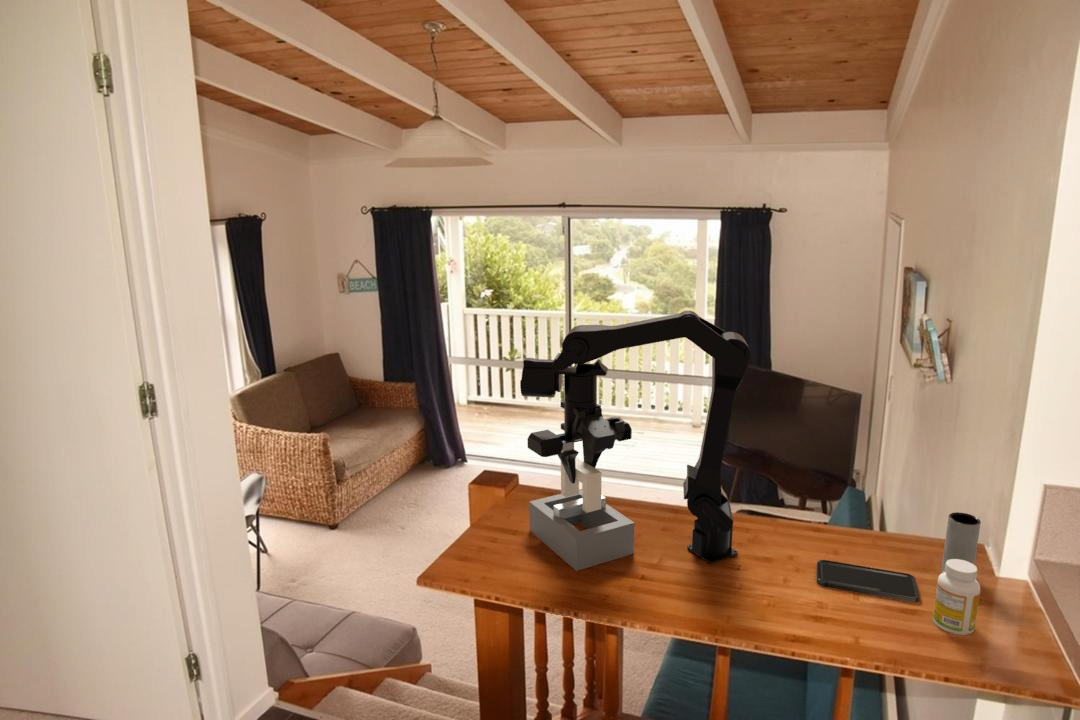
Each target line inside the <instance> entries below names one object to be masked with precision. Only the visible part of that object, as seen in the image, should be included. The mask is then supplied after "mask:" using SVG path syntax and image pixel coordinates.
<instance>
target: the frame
mask: <svg viewBox="0 0 1080 720" xmlns="http://www.w3.org/2000/svg"><path fill="white" fill-rule="evenodd" d="M578 499H582V488H579V494H576V495H572V496H568V497H564V496H563V495H561V493H560V494H559V493H558V494H554V495H550V496H547V497H542V498H539V499H533V500H530V501H529V504H528V506H529V531H530V532H531V533H532V534H533V535H534V536H535V537H537V538H538V539H539V540H540V541H541V542H542V543H543V544H545V545H546V546H547V547H548V548H550V550H552V552H554V553H555V554H556V555H557V556H559V557H560V558H561V559H562V560H563V561H564V562H565V563H566V564H568V565H569V566H570V567H571V568H572V569H573V570H575V572H579V571H580V570H584V569H588V568H590V567H594V566H598V565H601V564H604V563H607V562H610V561H614V560H616V559H618V560H619V559H620V558H625V557H627V556H630V555H633V554H634V552H635V551H634V550H635V522H634V521H633V520H631V519H630V518H628V516H627V517H626V516H625V515H624V514H622V513H621V512H619V511H618V510H616V509H614V507H612V506H610V505H609V504H608V503H606V508H603V509H600V510H596V511H592V512H588V513H584V514H580V515H577V516H573V517H569V518H565V519H561V520H558V519H557V518H556V517H555V516H554V505H558V504H562V503H566V502H570V501H574V500H578ZM576 524H580V525H582V526H584V527H585V528H586V529H584V530H579V529H578V528H577V527H576V526H574V525H576Z"/></svg>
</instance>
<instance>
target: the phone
mask: <svg viewBox="0 0 1080 720" xmlns="http://www.w3.org/2000/svg"><path fill="white" fill-rule="evenodd" d="M816 583H817V585H818V586H821V587H824V588H828V589H829V588H830V589H834V590H840V591H846V592H852V593H856V594H857V593H858V594H864V595H868V596H873V597H878V596H879V597H880V598H884V597H886V598H885V599H890V598H892V599H891V600H895V599H898V600H897V601H901V600H902V601H901V602H907V601H908V603H913V602H916V603H918V602H919V601H920V596H921V595H920V591H919V588H918V583H917V579H916V577H915V576H914V575H913V574H910V573H907V572H906V573H905V572H900V571H894V570H888V569H881V568H875V567H870V566H863V565H858V564H853V563H852V564H851V563H846V562H839V561H833V560H828V559H818V560H817V562H816ZM879 597H878V598H879Z"/></svg>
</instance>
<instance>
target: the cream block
mask: <svg viewBox="0 0 1080 720" xmlns="http://www.w3.org/2000/svg"><path fill="white" fill-rule="evenodd" d="M575 466H576V478H575V483H574V484H573V483H571V482H570V480H569V478H568V475H567V473H566V471H565V469H564V466H563V464H562V462H561V461H560V494H561V495H563V496H564V497H568V496H572V495H576V494H579V489H580V483H581V485H582V487H581V489H582V510H584V511H585V512H586V513H588V512H592V511H596V510H600V509H601V495H602V474H603V473H602V471H600V470H599V469H597V468H596V467H595V468H594V467H592V466H590V465H589V464H587V463H585V462H584V460H582V459H580V458H579V457H577V456H576V458H575Z"/></svg>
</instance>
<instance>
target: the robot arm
mask: <svg viewBox="0 0 1080 720" xmlns="http://www.w3.org/2000/svg"><path fill="white" fill-rule="evenodd" d="M682 338H683V339H684V338H685V339H687V340H689V341H691V342H692V343H693V345H696V346H697V347H698V348H699V349H701V350H702V351H703V352H705V353H706V354H707V355H709V356H710V357H712V358H711V359H712V361H711V362H712V365H711V366H712V388H711V393H710V398H709V399H710V400H709V403H708V404H709V405H708V409H707V414H706V420H705V425H704V430H703V436H702V441H701V442H702V443H701V446H700V453H699V457H698V459H697V462H696V463H695V466H693V465H691V464H686V478H685V480H684V481H683V484H682V485H683V488H682V489H683V500H686V505H687V509H688V511H689V512H690V513H691V514H692V516H695V517H696V519H694V522H693V523H694V524H693V525H694V526H693V529H692V535H691V536H692V539H691V543H690V544H688V545H686V546H687V547H686V548H687V550H689V551H691V552H693V554H695V555H697V556H698V557H700V558H702V559H703V560H704V561H706V562H708V563H709V564H714V563H717V562H720V561H724V560H726V559H729V558H731V557H736V556H738V554H739V552H738V551H739V550H736V549H734V548H733V547H732V546H733V531H734V519H733V518H734V517H733V512H732V508H731V507H732V506H731V502H730V500H729V499H728V498H727V497H726V495H724V493H722V471H721V470H722V469H721V468H722V464H723V460H724V455H725V454H724V453H725V450H726V444H727V440H728V433H729V428H730V424H731V423H730V422H731V419H732V412H733V408H734V402H735V397H736V394H737V391H738V389H739V387H740V386H741V383H742V381H743V380H744V377H745V375H746V373H747V370H748V368H749V366H750V363H751V360H752V359H751V358H752V354H751V350H750V348H749V344H748V343H747V341H746V340H745V338H744V337H743V336H742V335H741V334H739V333H737V332H734V331H725V330H723V329H721V328H720V327H718V326H717V325H715V324H713V323H712V322H709V321H708V320H706V319H704V318H703V317H701V316H699V314H697V313H696V312H695V311H693V310H683V311H682V312H679V313H673V314H670V315H669V314H667V315H664V316H658V317H654V318H649V319H643V320H638V321H634V322H628V323H622V324H618V325H607V324H606V325H605V324H604V325H603V324H581V325H576V326H574V327H572V328H571V329H570V330H569V331H568V333H567V334H566V336H565V337H564V339H563V340H562V344H561V349H562V351H560V352H558V353H557V354H556V355H555V357H554V359H541V358H540V359H539V358H534V357H526V358H525V359H524V360H523V361H522V363H523V367H522V372H521V379H520V381H519V382H520V385H519V387H520V393H521V396H522V397H527V398H528V397H531V398H532V397H533V398H555V396H556V394H557V393H561V391H562V386H563V385H564V386H563V387H564V388H563V390H564V391H563V394H564V396H563V397H564V398H563V399H564V400H561V401H560V408H562V409H563V411H564V412H563V413H564V415H563V417H564V422H561V423H560V430H562V431H564V432H563V433H559V434H556V433H554V432H552V431H550V429H544V430H540V431H534V432H531V433H530V434H529V435H528V437H527V449H529V450H530V451H532V452H533V453H535V454H537V455H538V456H539V457H543V458H548V457H552V456H557V457H558V458H559V460H560V463H561V462H562V464H563V466H564V469H565V471H566V473H567V475H568V478H569V480H570V482H571V483H573V484H574V483H575V478H576V466H575V458H576V457H577V456H578V454H579V451H578V450H575V443H579V442H582V450H583V451H582V454H583V461H584V462H585V463H587V464H589V465H590V466H592V467H594V468H595V469H596V466H597V464H598V461H599V459H600V457H601V454H602V453H604V451H605V450H607V449H608V450H611V449H613V448H614V446H615V442H616V441H617V442H623V441H627V440H632V437H633V436H632V429H633V428H632V427H631V425H630V423H628V422H626V421H625V420H623V419H622V418H621V417H620V416H617V417H616V416H612V417H606V418H604V416H603V413H602V411H603V409H602V405H601V404H598V402H597V401H598V395H597V394H598V392H597V391H598V376H599V377H601V376H602V377H604V376H607V374H608V371H609V368H608V366H606V365H605V364H604V363H603V362H602V361H601V359H600V358H602V357H604V356H606V355H608V354H611V353H613V352H615V351H618V350H622V349H627V348H635V347H639V346H644V345H650V344H655V343H661V342H666V341H667V342H668V341H672V340H676V339H682ZM594 360H596V361H594ZM591 361H592V362H593V361H594V363H591ZM589 362H590V363H589ZM574 364H576V366H573V365H574ZM571 366H573V367H571ZM563 382H564V383H563Z"/></svg>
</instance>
